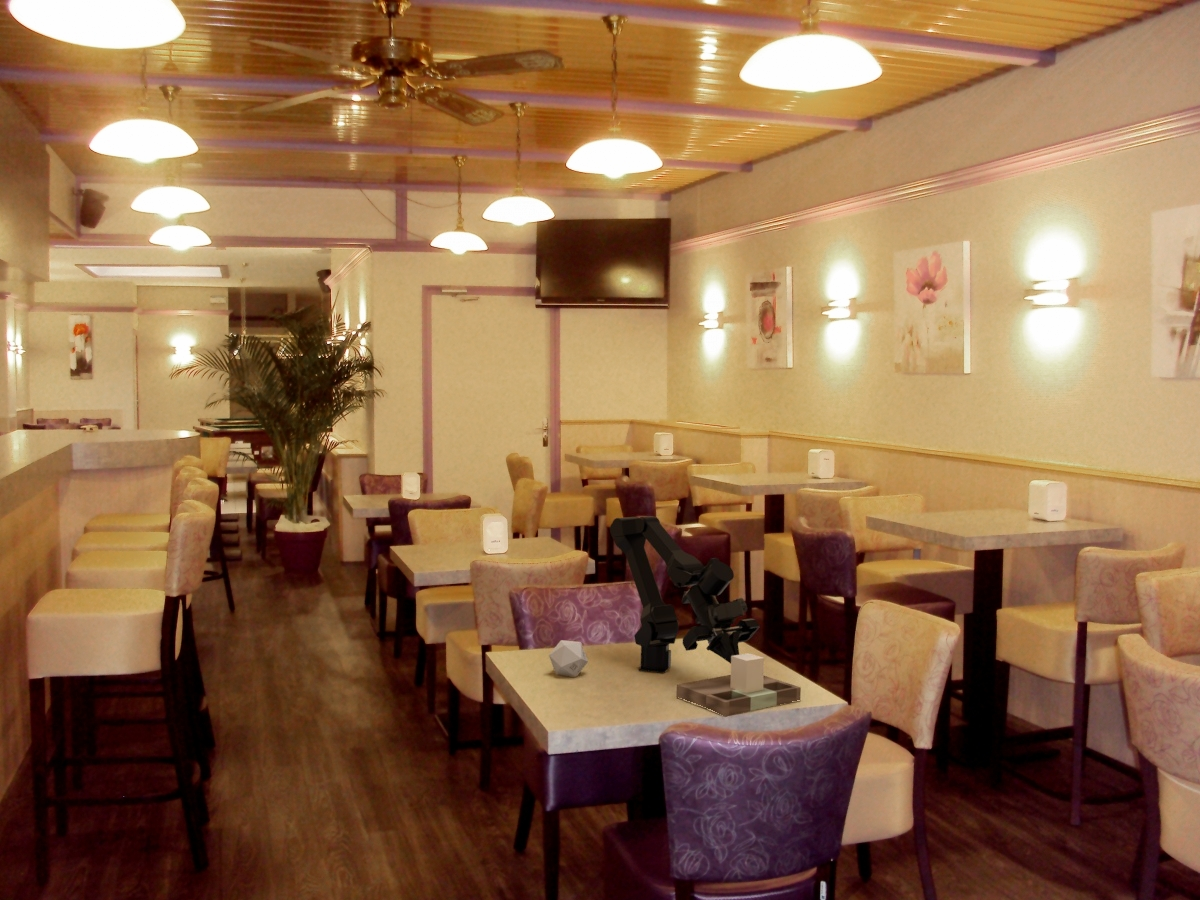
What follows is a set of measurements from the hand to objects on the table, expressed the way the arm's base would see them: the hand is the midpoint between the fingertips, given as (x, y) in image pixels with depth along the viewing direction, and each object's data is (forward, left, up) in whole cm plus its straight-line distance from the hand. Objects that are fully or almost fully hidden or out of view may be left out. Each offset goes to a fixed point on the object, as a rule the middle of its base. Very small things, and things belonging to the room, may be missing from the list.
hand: (738, 666), depth 239 cm
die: (-42, +6, -8) cm, 43 cm away
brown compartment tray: (0, 0, -7) cm, 7 cm away
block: (+2, -2, -4) cm, 5 cm away
